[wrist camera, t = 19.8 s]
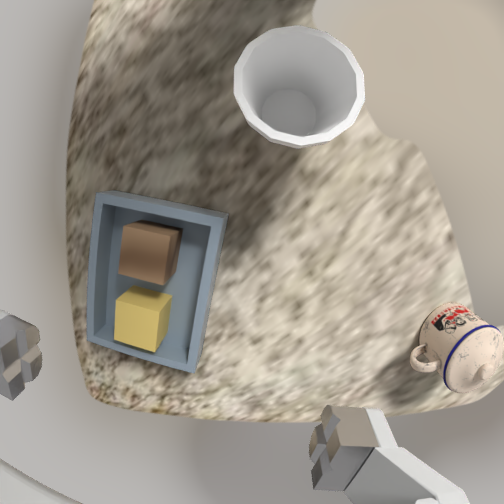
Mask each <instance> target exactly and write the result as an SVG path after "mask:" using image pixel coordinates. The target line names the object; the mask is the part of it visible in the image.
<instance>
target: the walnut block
mask: <svg viewBox="0 0 504 504" xmlns="http://www.w3.org/2000/svg"><path fill="white" fill-rule="evenodd" d="M182 233H183V228H179V227H174V226H170V225H165V224H161V223H156V222H152V221H147V220H142V219H141V220H138V221H136V222H133V223H130V224H127V225H125V226H123V233H122V241H121V250H120V260H119V270H118V274H122V275H126V276H129V277H133V278H137V279H140V280H144V281H148V282H152V283H156V284H160V285H164V284H165V283H166V282H167V280H168V279H169V278H170V277H171V276H172V275H173V274H174V273H175V272H176V269H177V263H178V256H179V250H180V244H181V238H182Z"/></svg>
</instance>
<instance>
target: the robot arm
mask: <svg viewBox="0 0 504 504" xmlns="http://www.w3.org/2000/svg"><path fill="white" fill-rule="evenodd" d="M39 341H40V335H39V330H38V329H37V327H36V326H34V325H32V324H30V323H28V322H26V321H24V320H22V319H20V318H18V317H16V316H14V315H11V314H10V313H7V312H5V311H4V310H0V394H1V395H3V396H5V397H7V398H9V399H10V400H14V399H15V398H16V397H17V396H18V395H19V394H20V393H21V392H22V391H23V390H24V389H25V383H26V382H30V381H33V380H34V379H35V378H36V377H37V376H38V374H39V372H40V370H41V367H42V353H41V351H40V349H39V348H38V346H37V344H38V342H39ZM321 420H322V423H321V424H320V425H318V426H317V427H315V429H314V431H313V433H312V436H311V440H310V444H309V455H310V456H309V457H310V460H312V462H313V463H314V464H315V465H314V467H313V469H312V470H311V474H312V482H313V489H314V490H329V491H344V494H345V495H346V496H347V497H348V498H349V499H350V501H351V502H352V503H353V504H470V503H469V501H468V499H467V497H466V495H465V493H464V491H463V490H462V489H461V488H459V487H458V486H456V485H455V484H453V483H452V482H450V481H449V480H447V479H446V478H444V477H443V476H442V475H440V474H439V473H437V472H436V471H435V470H433V469H432V468H430V467H429V466H427V465H426V464H425V463H423V462H422V461H421V460H419V459H418V458H417V457H415V456H414V455H412V454H411V453H410V452H408V451H407V450H406V449H404V448H403V447H402V448H398V446H397V444H396V441H395V439H394V437H393V434H392V432H391V430H390V428H389V425H388V423H387V421H386V418H385V416H384V414H383V411H382V410H381V409H379V408H365V407H362V408H357V407H345V406H335V405H327V406H326V407H325V408H324V410H323V412H322V414H321ZM0 504H82V503H80V502H77V501H75V500H73V499H71V498H69V497H67V496H64V495H63V494H61V493H59V492H57V491H55V490H53V489H51V488H49V487H47V486H45V485H43V484H41V483H39V482H38V481H36V480H34V479H33V478H31V477H29V476H27V475H26V474H24V473H22V472H21V471H19V470H17V469H16V468H14V467H13V466H11V465H9V464H8V463H6V462H5V461H3V460H2V459H0Z"/></svg>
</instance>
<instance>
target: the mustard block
mask: <svg viewBox="0 0 504 504" xmlns="http://www.w3.org/2000/svg"><path fill="white" fill-rule="evenodd" d="M171 302H172V295H169V294H165V293H161V292H157V291H153V290H150V289H146V288H142V287H139V286H135V285H133V286H132V287H131V288H129V289H128V290H127V291H126V292H125V293H123V294H122V295H121V296H120V297H119V298H118V299H116V309H115V329H114V340H117V341H120V342H123V343H126V344H129V345H132V346H136V347H139V348H142V349H146V350H149V351H152V352H156V350H157V348H158V347H159V345H160V344H161V342H162V340H163V339H164V337H165V336H166V334H167V332H168V325H169V317H170V309H171Z"/></svg>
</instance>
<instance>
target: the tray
mask: <svg viewBox="0 0 504 504" xmlns="http://www.w3.org/2000/svg"><path fill="white" fill-rule="evenodd" d="M228 215H229V214H228V213H224V212H219V211H215V210H210V209H205V208H201V207H196V206H191V205H186V204H181V203H177V202H172V201H167V200H162V199H157V198H152V197H147V196H142V195H137V194H131V193H126V192H121V191H116V190H112V191H104V192H96V198H95V205H94V213H93V221H92V231H91V241H90V253H89V267H88V286H87V341H90V342H93V343H96V344H98V345H101V346H104V347H107V348H110V349H113V350H116V351H119V352H122V353H125V354H128V355H131V356H134V357H138V358H141V359H144V360H147V361H151V362H154V363H158V364H161V365H165V366H168V367H172V368H176V369H179V370H183V371H187V372H191V373H195V371H196V368H197V365H198V362H199V360H200V357H201V354H202V348H203V343H204V337H205V332H206V327H207V321H208V316H209V310H210V305H211V300H212V295H213V290H214V284H215V279H216V274H217V269H218V264H219V259H220V254H221V249H222V244H223V239H224V235H225V230H226V225H227V220H228ZM141 219H142V220H147V221H152V222H156V223H161V224H165V225H170V226H174V227H179V228H183V233H182V238H181V244H180V250H179V256H178V263H177V269H176V272H175V273H174V274H173V275H172V276H171V277H170V278H169V279H168V280H167V282H166V283H165V284H164V285H160V284H156V283H152V282H148V281H144V280H140V279H137V278H133V277H129V276H126V275H122V274H118V270H119V260H120V250H121V241H122V233H123V226H125V225H127V224H130V223H133V222H136V221H138V220H141ZM133 285H135V286H139V287H142V288H146V289H150V290H153V291H157V292H161V293H165V294H169V295H172V302H171V309H170V317H169V325H168V332H167V334H166V336H165V337H164V339H163V340H162V342H161V344H160V345H159V347H158V348H157V350H156V352H152V351H149V350H146V349H142V348H139V347H136V346H132V345H129V344H126V343H123V342H120V341H117V340H114V329H115V309H116V299H118V298H119V297H120V296H121V295H122V294H123V293H125V292H126V291H127V290H128V289H129V288H131V287H132V286H133Z"/></svg>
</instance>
